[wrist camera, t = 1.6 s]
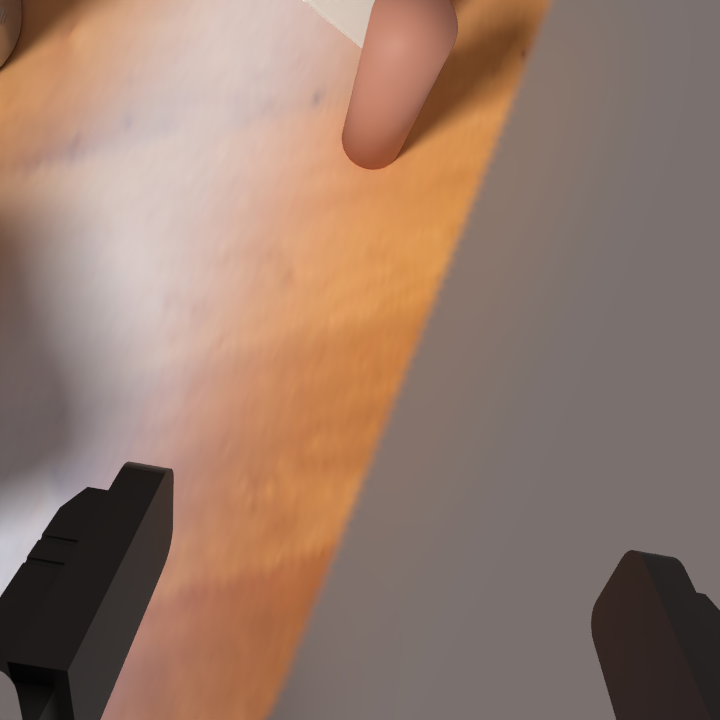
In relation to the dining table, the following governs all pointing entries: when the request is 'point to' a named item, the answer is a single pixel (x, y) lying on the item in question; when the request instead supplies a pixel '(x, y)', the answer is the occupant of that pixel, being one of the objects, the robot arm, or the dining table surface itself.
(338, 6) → the block
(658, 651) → the robot arm
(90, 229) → the dining table surface
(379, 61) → the pin
